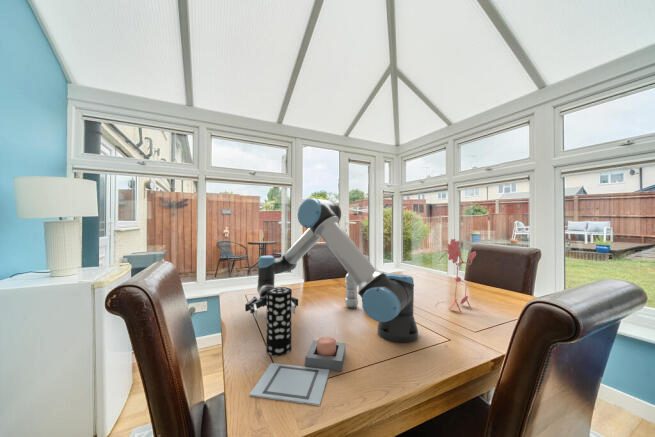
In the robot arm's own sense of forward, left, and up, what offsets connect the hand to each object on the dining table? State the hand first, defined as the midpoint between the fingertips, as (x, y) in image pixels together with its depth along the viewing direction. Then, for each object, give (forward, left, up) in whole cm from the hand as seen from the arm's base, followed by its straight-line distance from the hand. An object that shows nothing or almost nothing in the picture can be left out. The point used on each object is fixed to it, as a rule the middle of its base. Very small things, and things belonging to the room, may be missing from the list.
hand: (275, 311), depth 91 cm
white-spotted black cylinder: (-3, +4, -11) cm, 12 cm away
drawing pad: (-13, +20, -11) cm, 27 cm away
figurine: (-75, -53, -11) cm, 92 cm away
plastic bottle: (-24, -42, -11) cm, 49 cm away
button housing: (-20, +7, -11) cm, 24 cm away
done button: (-20, +7, -10) cm, 23 cm away
